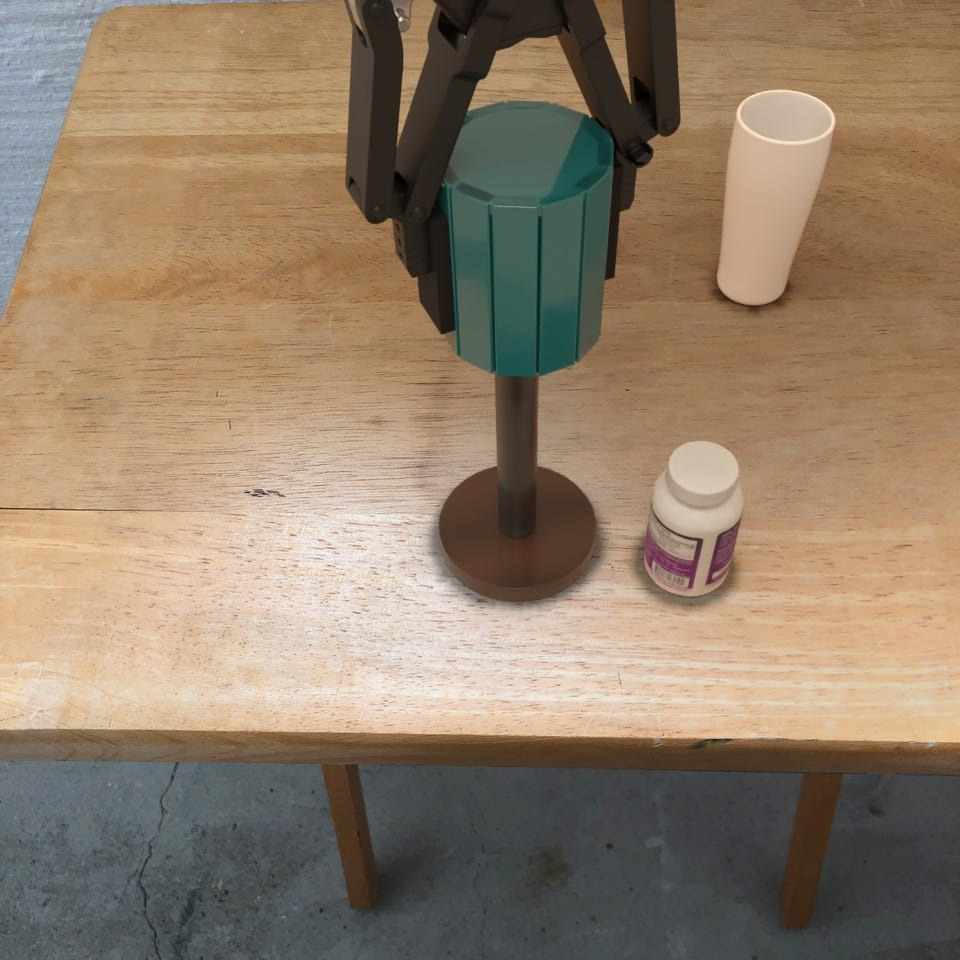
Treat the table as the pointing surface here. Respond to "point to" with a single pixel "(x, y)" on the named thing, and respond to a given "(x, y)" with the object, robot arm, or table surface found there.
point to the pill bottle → (694, 519)
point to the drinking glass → (770, 190)
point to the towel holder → (517, 512)
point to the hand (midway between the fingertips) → (517, 288)
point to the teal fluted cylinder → (527, 236)
